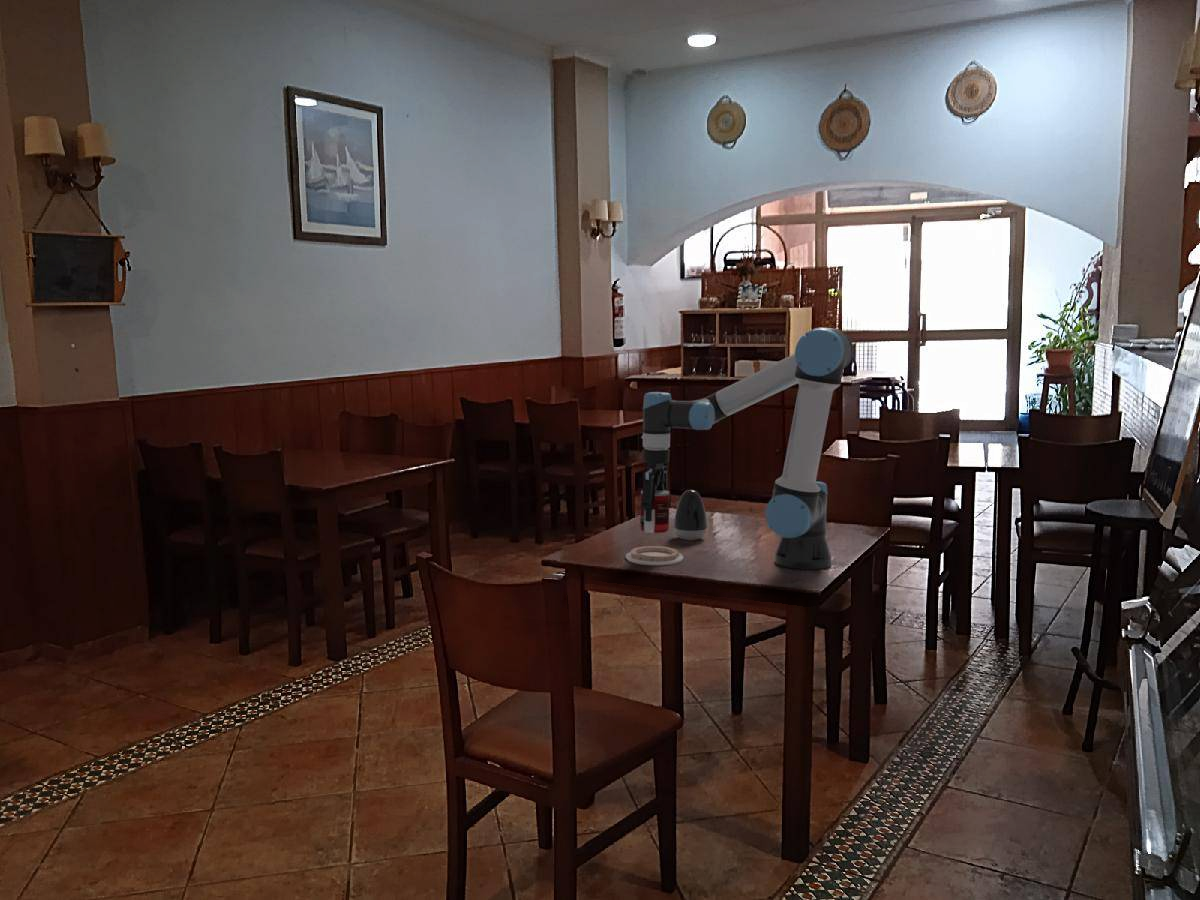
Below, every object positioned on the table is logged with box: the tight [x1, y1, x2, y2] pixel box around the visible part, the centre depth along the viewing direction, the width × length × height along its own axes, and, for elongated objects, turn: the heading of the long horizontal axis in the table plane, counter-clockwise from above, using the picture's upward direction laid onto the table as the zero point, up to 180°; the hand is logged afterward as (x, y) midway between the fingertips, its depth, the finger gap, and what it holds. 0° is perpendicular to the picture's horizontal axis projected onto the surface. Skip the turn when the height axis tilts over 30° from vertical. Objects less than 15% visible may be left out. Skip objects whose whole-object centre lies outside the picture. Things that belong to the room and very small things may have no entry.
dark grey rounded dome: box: [673, 489, 708, 541], centre depth 292 cm, size 10×10×15 cm
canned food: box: [639, 489, 670, 534], centre depth 266 cm, size 8×8×11 cm
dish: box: [625, 545, 684, 567], centre depth 267 cm, size 16×16×2 cm
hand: (654, 529), depth 266 cm, fingers closed on canned food, 8 cm apart
